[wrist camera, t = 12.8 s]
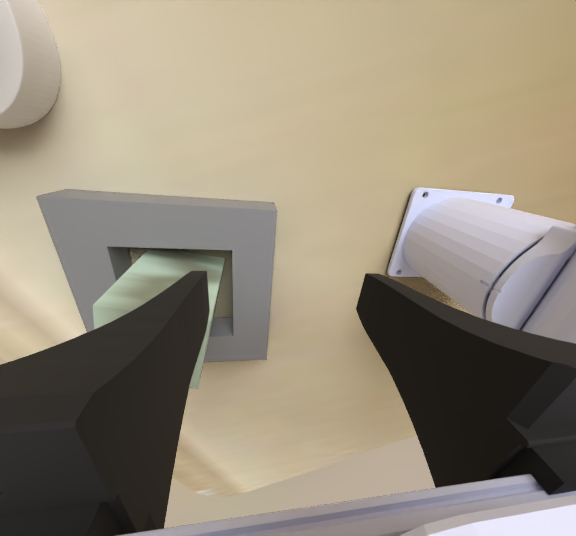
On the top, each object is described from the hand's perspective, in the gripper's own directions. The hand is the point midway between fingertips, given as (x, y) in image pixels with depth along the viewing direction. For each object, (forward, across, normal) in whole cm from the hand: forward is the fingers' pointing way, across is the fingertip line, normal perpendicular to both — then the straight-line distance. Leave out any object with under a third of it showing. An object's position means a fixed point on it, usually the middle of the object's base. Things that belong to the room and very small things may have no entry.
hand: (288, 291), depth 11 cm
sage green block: (+10, +7, +5) cm, 13 cm away
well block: (+9, +7, +5) cm, 13 cm away
